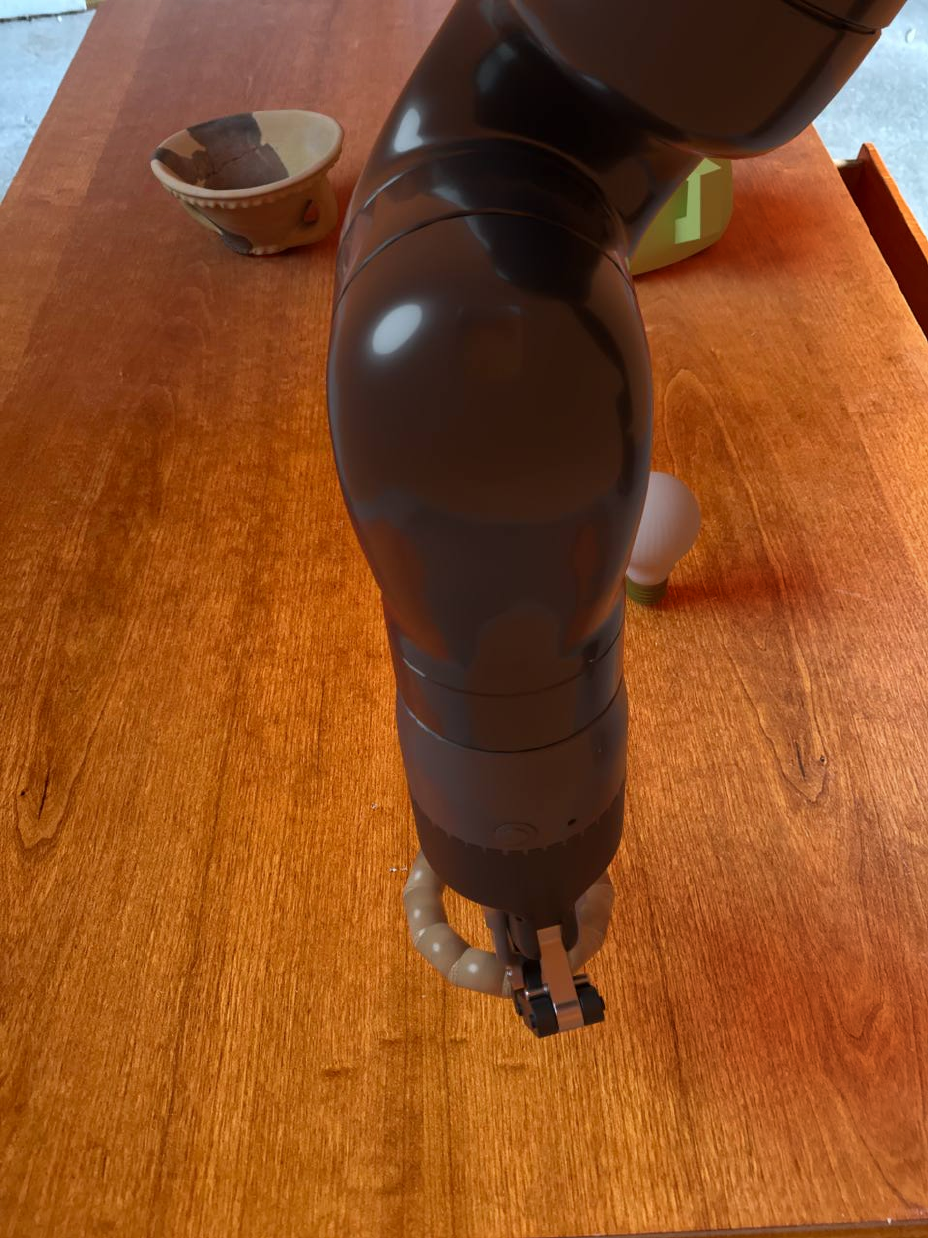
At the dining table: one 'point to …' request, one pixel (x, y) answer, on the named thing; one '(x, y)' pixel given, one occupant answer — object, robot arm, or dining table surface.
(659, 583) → the light bulb
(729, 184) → the teapot
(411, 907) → the beige segmented ring
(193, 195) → the bowl
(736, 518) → the dining table surface
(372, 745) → the dining table surface
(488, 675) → the robot arm
